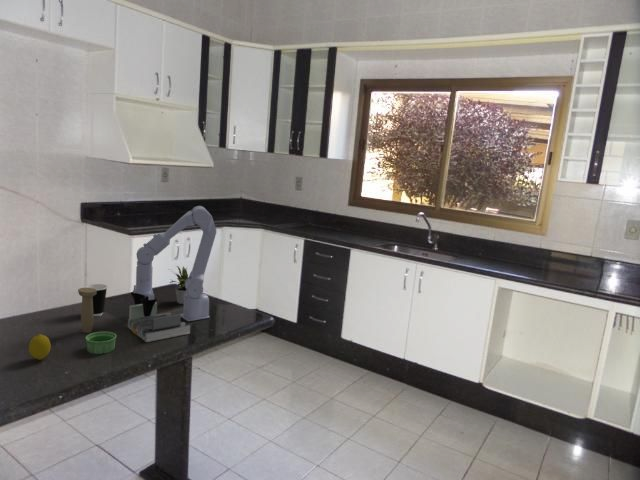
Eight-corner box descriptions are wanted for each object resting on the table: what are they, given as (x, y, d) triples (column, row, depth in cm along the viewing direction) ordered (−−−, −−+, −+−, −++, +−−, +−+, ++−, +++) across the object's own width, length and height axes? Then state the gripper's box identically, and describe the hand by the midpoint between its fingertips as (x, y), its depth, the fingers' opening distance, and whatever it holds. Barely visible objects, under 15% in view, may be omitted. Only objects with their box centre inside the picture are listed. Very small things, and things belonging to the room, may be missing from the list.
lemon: (35, 355, 142) (34, 330, 141) (54, 356, 142) (54, 331, 141) (25, 363, 136) (24, 337, 135) (45, 364, 137) (44, 338, 136)
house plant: (157, 300, 203) (158, 263, 200) (184, 295, 214) (186, 260, 211) (176, 309, 194) (177, 270, 191) (203, 303, 205) (205, 266, 202)
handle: (86, 335, 159) (86, 293, 157) (75, 330, 163) (75, 289, 160) (99, 332, 164) (99, 290, 161) (87, 327, 167) (88, 286, 164)
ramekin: (82, 355, 145) (82, 342, 144) (88, 344, 153) (88, 331, 153) (114, 354, 147) (114, 341, 147) (117, 343, 156) (118, 331, 155)
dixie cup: (80, 316, 176) (80, 288, 174) (91, 310, 184) (91, 283, 182) (100, 318, 176) (101, 290, 174) (111, 312, 184) (111, 285, 182)
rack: (169, 320, 181) (170, 302, 180) (189, 333, 169) (190, 315, 168) (127, 327, 170) (127, 309, 169) (145, 342, 158) (146, 322, 157)
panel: (154, 316, 184) (155, 301, 183) (156, 317, 182) (157, 303, 181) (129, 320, 177) (129, 305, 176) (130, 322, 176) (131, 306, 175)
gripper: (126, 275, 179) (125, 309, 182) (141, 284, 169) (140, 320, 171) (144, 273, 184) (143, 306, 186) (160, 282, 174) (159, 317, 176)
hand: (143, 312), depth 179 cm, fingers open, 7 cm apart
